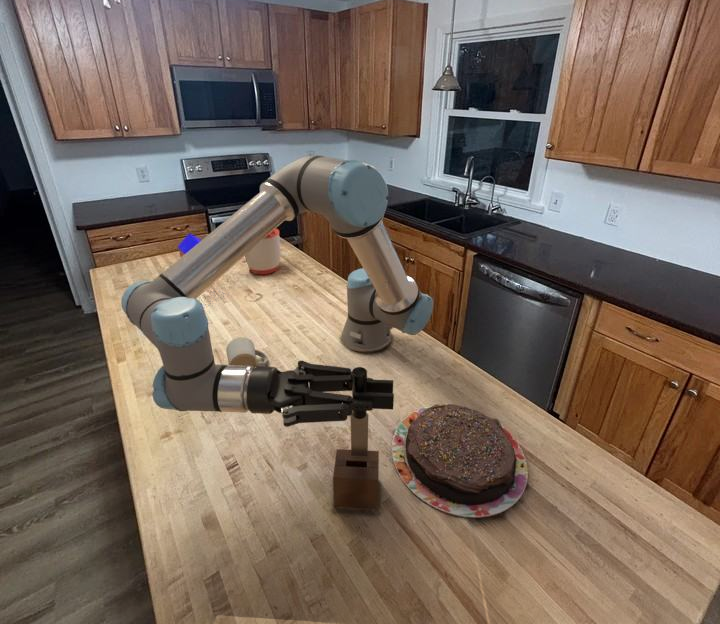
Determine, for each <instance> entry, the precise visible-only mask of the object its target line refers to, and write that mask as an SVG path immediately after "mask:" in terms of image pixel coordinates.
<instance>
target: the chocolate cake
mask: <svg viewBox="0 0 720 624" xmlns="http://www.w3.org/2000/svg"><path fill="white" fill-rule="evenodd" d="M405 438H406V439H405ZM404 446H405V447H404ZM404 448H405V454H404ZM405 456H406V458H405ZM391 458H392V463H393V465H394V468H395V470H396V473H397V475H398V476H399V478H400V479H401V481H402V482H403V484H404V486H406V487H407V488H408V490H409V491H410V492H411V493H412V494H413V495H414V496H415V497H417V498H418V499H419V500H420V501H422V502H423V503H424V504H425V505H429V506H430V507H431V508H434V509H437V510H438V511H440V512H444V513H446V514H450V515H451V516H454V517H459V518H467V519H484V518H485V517H486V518H487V517H503V514H502V513H503V512H505V511H508V510H509V509H511V508H512V507H514V506H516V505H517V503H518V502H519V501H520V499H521V497H522V495H523V494H524V493H525V489H526V488H527V484H528V478H529V476H530V475H529V465H528V461H527V458H526V454H525V453H524V451H523V449H522V447H521V445H520V444H519V442H518V441H517V439H516V438H515V437H514V436H513V435H512V434H511V432H509V430H507V428H506V427H504V426H503V425H502V424H501V422H500V420H499V419H498V418H492V417H491V416H489V415H487V414H485V413H483V412H481V411H479V410H476V409H474V408H471V407H467V406H462V405H458V404H454V403H447V404H433V405H428V406H425V407H421V408H419V409H416V410H414V411H411V412H410V413H409V414H407V416H405V417H404V418H402V420H401V421H400V422H399V424H398V425H397V427H396V428H395V430H394V433H393V436H392V438H391ZM406 460H407V461H406ZM412 473H413V474H412Z"/></svg>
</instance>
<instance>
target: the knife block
mask: <svg viewBox="0 0 720 624" xmlns="http://www.w3.org/2000/svg"><path fill="white" fill-rule="evenodd" d="M335 451H336V452H335V458H334V465H333V473H332V489H333V508H338V509H339V508H340V509H341V508H342V509H357V510H358V509H359V510H375V511H376V510H377V511H378V502H379V471H380V470H379V469H380V468H379V465H380V462H379V461H380V452H379V450H368V456H351V449H341V448H336V450H335Z"/></svg>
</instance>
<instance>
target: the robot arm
mask: <svg viewBox="0 0 720 624" xmlns="http://www.w3.org/2000/svg"><path fill="white" fill-rule="evenodd" d="M388 196H389V187H388V184H387V182H386V179H385V177H384V175H383V174H382V172H380V170H379V169H377V168H376V167H375V166H373V165H371V164H367V163H364V162H363V161H359V160H355V159H350V160H349V159H342V158H336V157H330V156H324V155H319V154H316V155H315V154H314V155H313V154H312V155H306V156H303V157H301V158H298V159H296V160H294V161H292V162H290V163H289V164H288V163H287V164H286V165H285V166H284V167H282V168H280V169H279V170H277V171H276V172H275V173H273V174H272V175H271V176H269V177H268V178H267V179H266V180H265V181H263V182H262V183H261V184H260V185H259V193H257V194H255V196H253V197H252V198H251V199H250V200H249V201H247V202H246V203H245V204H243V206H241V207H240V208H239V209H238V210H237V211H235V212H234V213H232V215H230V216H228V218H227V219H226V220H224V221H223V222H222V223H221V224H220V225H218V226H217V227H216V228H214V229H213V230H212V231H211V232H210V233H208V234H207V235H206V236H205V237H204V238H203V239H201V241H200V242H199V243H198V244H197V245H195V246H194V247H193V248H192V249H191V250H189V251H188V252H187V253H186V254H185V255H183V256H182V257H180V258H178V259H177V260H176V261H175V262H173V263H172V264H171V265H170V266H169V267H167V268H166V269H165V270H163V272H161V273H160V274H159V275H158V276H156V277H155V278H153V280H151V281H150V280H141V281H138V282H134V283H132V284H131V285H129V286H128V287H127V288H126V289H125V291H124V292H123V294H122V297H121V300H120V301H121V302H120V303H121V309H122V311H123V312H124V314H125V315H126V317H127V318H128V320H129V322H130V323H131V325H134V326H135V327H136V328H138V330H139V331H140V332H141V333H142V334H143V335H144V336H145V337H146V338H147V340H149V342H150V343H151V344H152V345H153V346H154V347H155V348H156V350H158V352H159V356H160V359H161V362H162V366H160V368H159V369H158V370H157V372H156V374H155V375H154V378H153V382H152V387H153V390H152V394H151V395H152V399H153V403H155V405H156V406H157V407H159V409H160V408H161V409H164V410H172V411H178V412H217V413H218V412H219V413H242V414H244V413H248V412H250V414H261V415H262V414H263V415H271V414H273V413H274V412H277V413H279V414H281V415H282V424H283V426H284V427H287V428H288V427H291V426H295V425H298V424H308V423H309V424H310V423H328V422H329V423H330V422H345V421H347V420H348V417H351V415H352V410H361V411H365V410H366V411H367V412H370V411H373V410H392V411H393V410H394V403H395V393H394V380H393V379H374V378H371V377H367V392H353V398H352V395H349V394H340V393H333V392H352V369H351V368H350V367H343V366H335V365H334V366H333V365H325V364H315V363H311V362H308V361H305V360H298V362H297V367H296V368H294V369H288V370H286V371H281V370H279V369H278V368H277V367H275V366H257V367H255V368H253V367H252V366H241V365H229V364H227V365H226V364H216V363H215V357H214V351H213V347H212V342H211V341H212V340H211V336H210V330H209V322H208V320H209V319H208V317H207V314H206V311H205V308H204V305H203V304H202V302H201V301H200V300H199V299H198V298H200V296H201V295H203V294H204V292H206V291H207V290H208V289H209V288H210V287H212V286H213V285H214V284H215V283H216V282H217V281H218V280H219V279H220V278H222V277H223V276H224V275H225V274H226V273H228V271H229V270H231V269H232V268H233V267H234V266H235V265H236V264H237V263H239V262H240V261H241V260H242V259H243V258H245V255H246V254H247V253H248V252H250V251H251V250H252V249H253V248H254V247H255V246H256V245H257V244H259V243H260V242H261V241H262V240H263V239H264V238H265V237H266V236H268V235H269V234H270V233H271V232H272V231H273V230H274V229H275V228H276V229H278V227H279V226H280V225H281V224H282V223H284V222H285V221H286V222H287V221H288V222H291V221H293V220H294V219H295V218H297V216H299V215H300V214H303V213H305V212H311V213H315V214H318V215H322V216H323V217H324V218H325V219H326V220H327V222H328V223H329V225H330V227H331V228H332V230H333V232H334V233H335V235H336V236H338V237H340V238H342V239H346V240H347V242H348V244H349V245H350V247H351V249H352V251H353V253H354V255H355V256H356V258H357V260H358V262H359V263H360V265H361V266H362V268H358V269H356V270H353V271H352V272H350V273H349V274H348V276H347V283H346V284H347V285H346V296H347V297H346V298H347V299H346V301H347V302H346V303H347V317H346V321H345V323H344V327H343V329H342V332H341V333H342V334H341V341H342V343H343V345H344V346H345V347H346V348H348V349H349V350H351V351H354V352H358V353H364V354H365V353H366V354H368V353H369V354H371V353H376V352H377V353H378V352H380V351H383V350H384V349H386V348H387V347H389V345H390V344H391V341H392V332H391V329H390V327H391V328H395V329H396V330H398V331H400V332H401V333H403V334H406V335H409V336H416V335H418V334H420V333H421V332H422V331H423V330H424V328H425V327H427V324H428V322H429V321H430V319H431V317H432V316H431V315H432V314H433V311H434V299H433V298H432V296H430V295H428V294H427V293H422V292H421V291H420V289H419V286H418V284H417V282H416V281H415V280H414V279H413V278H412V277H410V276H408V275H407V274H406V272H405V270H404V267H403V264H402V262H401V260H400V258H399V256H398V253H397V251H396V249H395V247H394V245H393V242H392V241H391V237H390V235H389V234H388V231H387V229H386V227H385V224H384V223H383V220H384V217H385V212H386V210H387V207H388V203H389V201H388V199H387V198H388Z"/></svg>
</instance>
